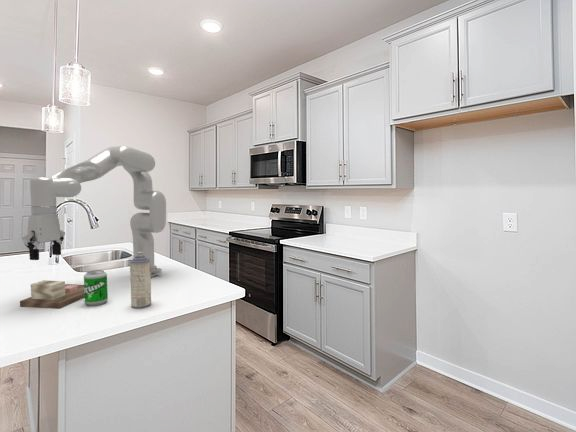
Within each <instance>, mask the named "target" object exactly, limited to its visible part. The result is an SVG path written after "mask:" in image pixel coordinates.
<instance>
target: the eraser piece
mask: <svg viewBox="0 0 576 432" xmlns="http://www.w3.org/2000/svg"><path fill="white" fill-rule="evenodd" d="M77 289H78V286H75V285H68V286H65V292H72V291H74V290H77Z"/></svg>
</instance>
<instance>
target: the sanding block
mask: <svg viewBox="0 0 576 432" xmlns="http://www.w3.org/2000/svg"><path fill="white" fill-rule="evenodd" d="M65 285H66V281H64V280H47V279H46V280H40V281H37V282H34V283H30V297H31V300H34V301H56V300H59V299H61V298H64V297H66V295H65Z"/></svg>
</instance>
